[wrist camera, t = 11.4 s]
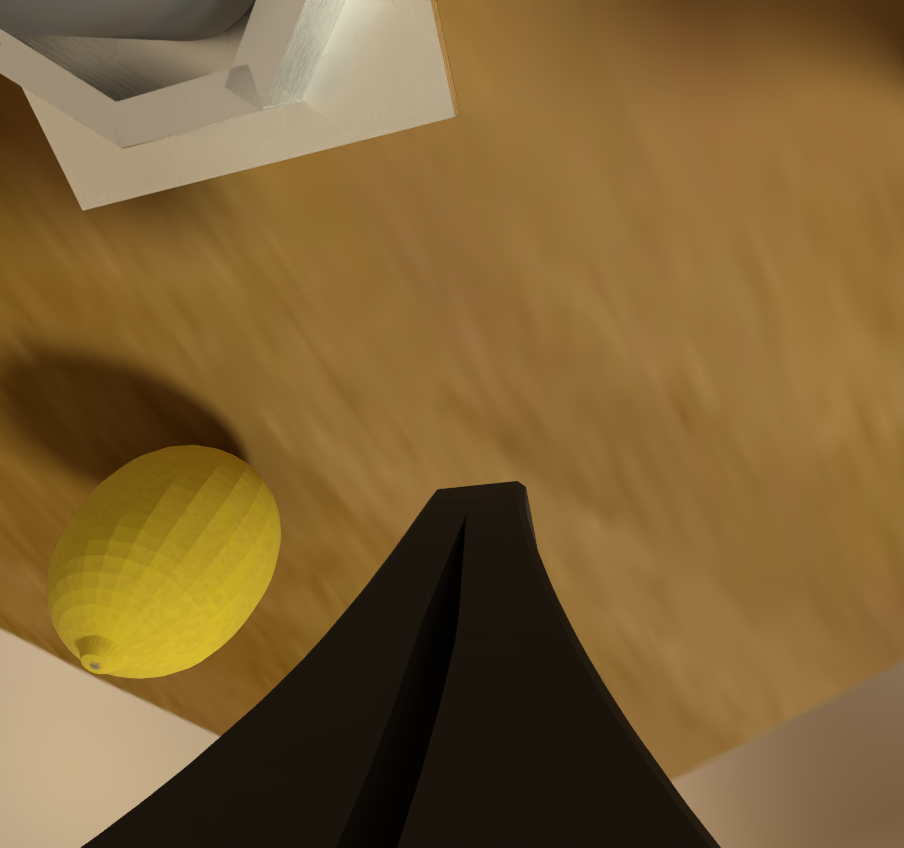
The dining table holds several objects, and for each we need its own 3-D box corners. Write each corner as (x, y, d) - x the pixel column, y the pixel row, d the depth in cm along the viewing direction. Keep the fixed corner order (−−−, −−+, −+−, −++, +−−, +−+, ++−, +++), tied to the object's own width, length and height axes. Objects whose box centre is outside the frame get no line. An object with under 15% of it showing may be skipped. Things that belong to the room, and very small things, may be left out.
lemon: (255, 558, 24) (140, 766, 17) (125, 468, 22) (-59, 655, 15) (345, 475, 21) (254, 678, 14) (206, 367, 20) (30, 536, 13)
